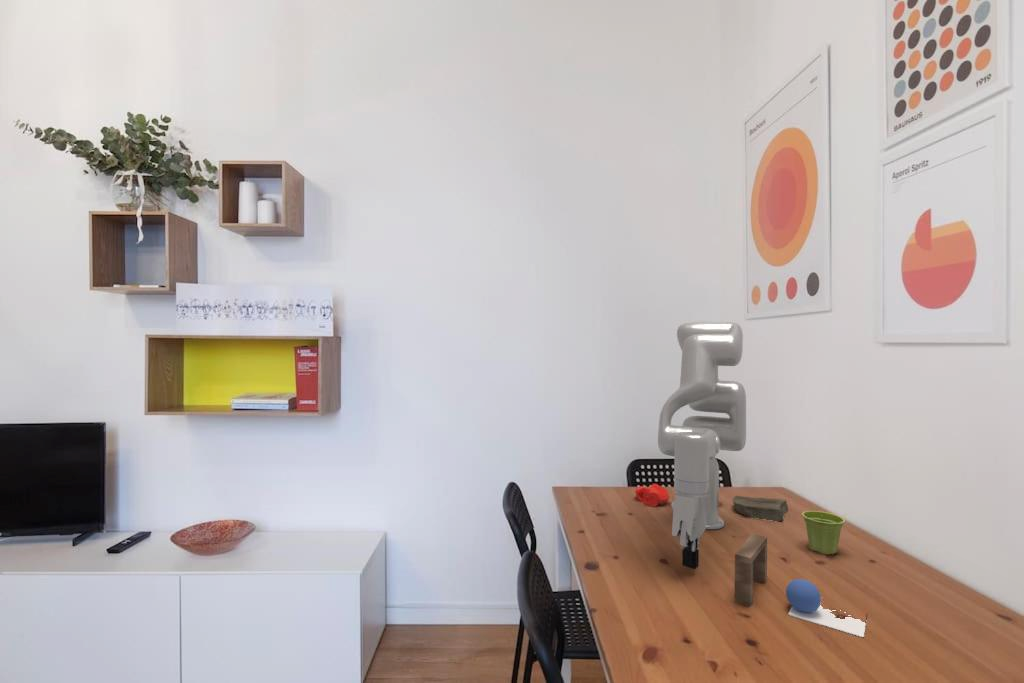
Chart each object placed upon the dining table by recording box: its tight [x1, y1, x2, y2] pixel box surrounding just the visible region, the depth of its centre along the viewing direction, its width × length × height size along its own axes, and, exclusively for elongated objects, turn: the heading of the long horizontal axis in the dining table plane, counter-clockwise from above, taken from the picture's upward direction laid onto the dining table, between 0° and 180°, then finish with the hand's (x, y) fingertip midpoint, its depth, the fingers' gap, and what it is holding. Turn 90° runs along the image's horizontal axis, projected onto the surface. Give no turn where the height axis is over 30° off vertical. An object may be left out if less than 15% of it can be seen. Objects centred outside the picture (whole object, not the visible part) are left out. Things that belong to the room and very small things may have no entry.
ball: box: [785, 578, 822, 613], centre depth 98 cm, size 6×6×6 cm
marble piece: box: [732, 495, 789, 522], centre depth 158 cm, size 17×15×4 cm
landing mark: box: [788, 605, 867, 638], centre depth 98 cm, size 12×12×1 cm
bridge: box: [733, 533, 768, 607], centre depth 106 cm, size 3×15×10 cm, turn 142°
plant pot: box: [801, 510, 846, 555], centre depth 129 cm, size 9×9×9 cm
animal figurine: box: [634, 483, 670, 507], centre depth 170 cm, size 12×15×5 cm
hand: (690, 566), depth 115 cm, fingers closed
